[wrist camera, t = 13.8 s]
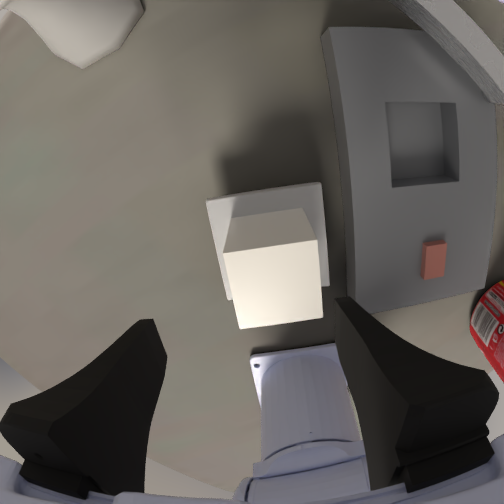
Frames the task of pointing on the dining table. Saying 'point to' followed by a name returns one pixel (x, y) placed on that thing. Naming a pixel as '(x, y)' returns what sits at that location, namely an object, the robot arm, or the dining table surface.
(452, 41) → the grey bar orange end
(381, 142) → the grey flat block
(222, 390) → the dining table surface
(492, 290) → the soda can
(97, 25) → the flask
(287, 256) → the plug
